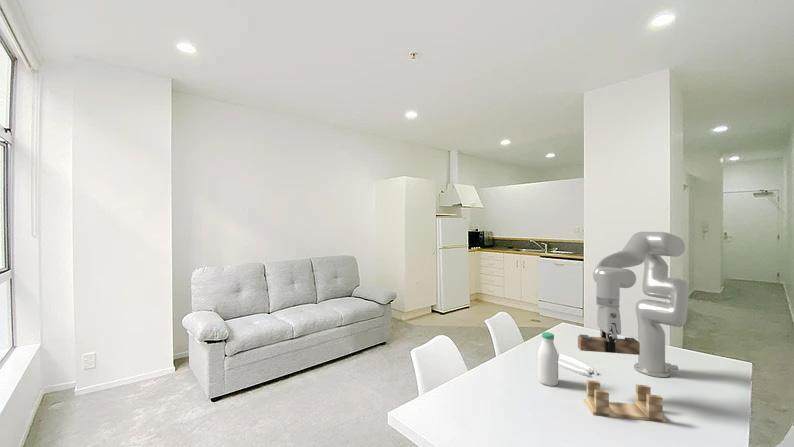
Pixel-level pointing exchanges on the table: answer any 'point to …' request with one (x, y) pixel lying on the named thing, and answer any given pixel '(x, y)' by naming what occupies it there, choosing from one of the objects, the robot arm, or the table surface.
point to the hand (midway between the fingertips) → (607, 349)
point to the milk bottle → (547, 361)
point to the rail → (599, 345)
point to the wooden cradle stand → (625, 404)
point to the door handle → (580, 371)
